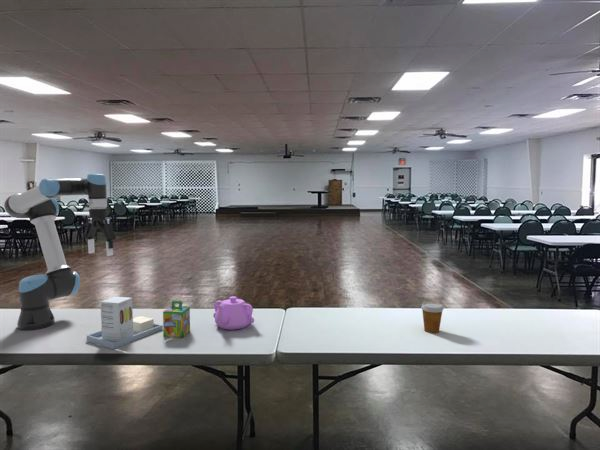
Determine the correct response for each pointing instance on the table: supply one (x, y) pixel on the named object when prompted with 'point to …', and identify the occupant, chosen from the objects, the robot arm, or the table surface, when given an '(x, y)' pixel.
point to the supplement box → (116, 318)
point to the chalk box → (176, 320)
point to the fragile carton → (142, 324)
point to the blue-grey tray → (98, 340)
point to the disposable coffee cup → (432, 316)
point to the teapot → (233, 313)
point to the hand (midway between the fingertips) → (100, 254)
